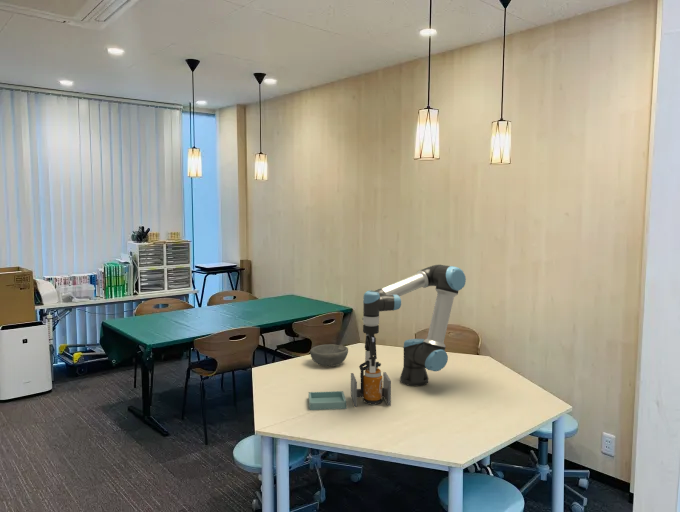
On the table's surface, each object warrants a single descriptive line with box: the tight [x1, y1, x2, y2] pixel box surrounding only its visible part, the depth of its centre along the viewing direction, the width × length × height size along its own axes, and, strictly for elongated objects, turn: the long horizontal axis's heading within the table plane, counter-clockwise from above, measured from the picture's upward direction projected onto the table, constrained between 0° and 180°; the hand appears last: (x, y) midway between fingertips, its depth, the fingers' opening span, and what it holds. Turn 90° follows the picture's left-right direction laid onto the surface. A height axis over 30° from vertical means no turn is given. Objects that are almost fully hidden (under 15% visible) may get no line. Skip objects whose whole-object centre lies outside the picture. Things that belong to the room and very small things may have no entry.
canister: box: [358, 361, 383, 405], centre depth 254 cm, size 9×11×20 cm
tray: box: [308, 390, 348, 411], centre depth 253 cm, size 17×15×3 cm
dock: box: [350, 371, 392, 408], centre depth 256 cm, size 17×14×12 cm
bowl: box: [309, 343, 349, 367], centre depth 316 cm, size 23×22×10 cm
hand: (370, 368), depth 254 cm, fingers open, 13 cm apart
